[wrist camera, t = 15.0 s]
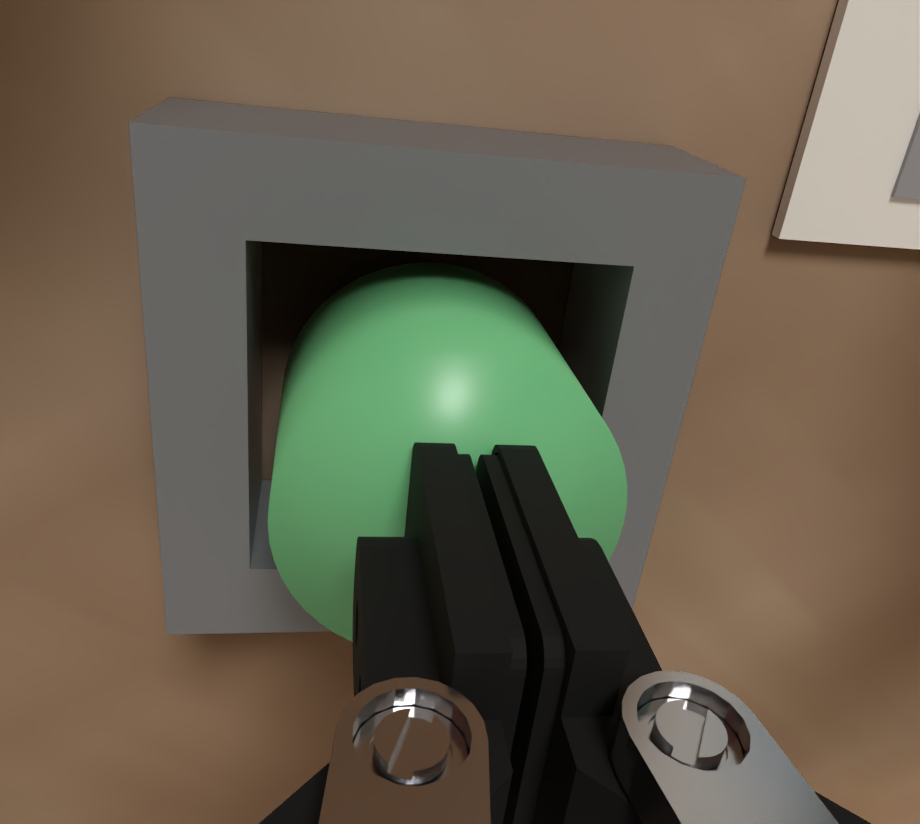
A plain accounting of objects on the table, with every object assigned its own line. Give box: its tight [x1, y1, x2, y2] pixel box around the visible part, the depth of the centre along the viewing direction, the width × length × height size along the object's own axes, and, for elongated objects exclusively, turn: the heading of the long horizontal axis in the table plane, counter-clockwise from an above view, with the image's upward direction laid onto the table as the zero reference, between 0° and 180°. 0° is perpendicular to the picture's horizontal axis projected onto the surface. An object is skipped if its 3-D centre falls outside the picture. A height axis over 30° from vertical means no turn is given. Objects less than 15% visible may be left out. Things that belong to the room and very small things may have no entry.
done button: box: [268, 263, 627, 642], centre depth 13 cm, size 5×5×4 cm
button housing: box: [129, 98, 746, 635], centre depth 15 cm, size 9×9×3 cm
